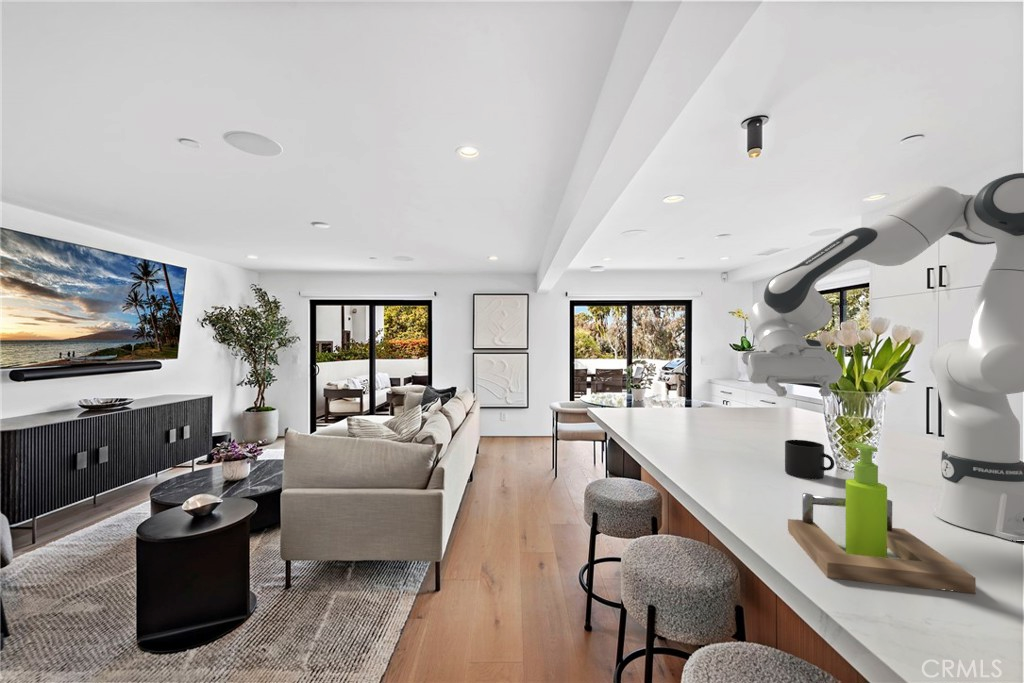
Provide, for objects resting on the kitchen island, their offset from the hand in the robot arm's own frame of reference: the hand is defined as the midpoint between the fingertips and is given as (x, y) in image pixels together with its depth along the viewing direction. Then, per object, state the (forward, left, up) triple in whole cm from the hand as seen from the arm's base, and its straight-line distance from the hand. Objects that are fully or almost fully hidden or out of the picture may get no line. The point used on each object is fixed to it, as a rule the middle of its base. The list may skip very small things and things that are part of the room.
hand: (804, 394), depth 101 cm
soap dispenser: (-2, +21, -27) cm, 34 cm away
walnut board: (-2, +22, -26) cm, 35 cm away
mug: (-11, -29, -27) cm, 41 cm away
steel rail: (-2, +14, -24) cm, 28 cm away
